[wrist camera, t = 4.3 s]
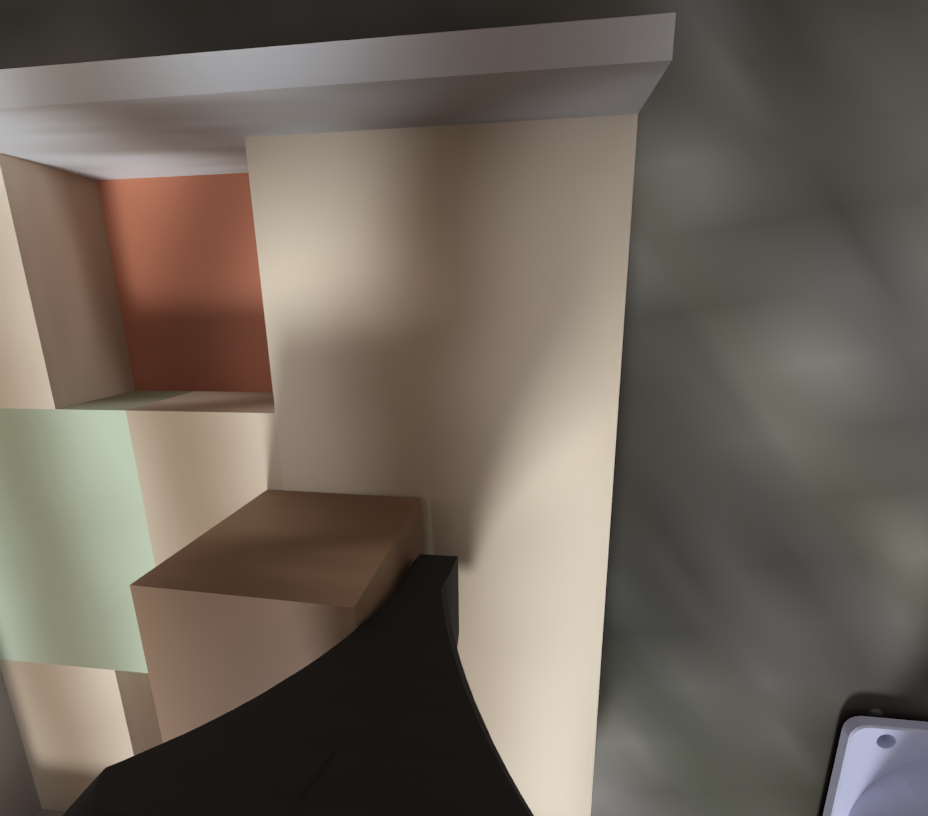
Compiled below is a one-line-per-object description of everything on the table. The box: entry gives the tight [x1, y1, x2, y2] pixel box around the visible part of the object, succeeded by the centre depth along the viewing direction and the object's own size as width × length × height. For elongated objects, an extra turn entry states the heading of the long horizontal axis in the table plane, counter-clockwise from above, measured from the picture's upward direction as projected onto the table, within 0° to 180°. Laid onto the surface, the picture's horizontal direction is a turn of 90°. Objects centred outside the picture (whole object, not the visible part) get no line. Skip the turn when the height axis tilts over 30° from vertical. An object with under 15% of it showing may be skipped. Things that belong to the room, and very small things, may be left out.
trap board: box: [0, 12, 676, 816], centre depth 13 cm, size 19×21×5 cm
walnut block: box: [130, 490, 423, 743], centre depth 10 cm, size 4×4×4 cm
